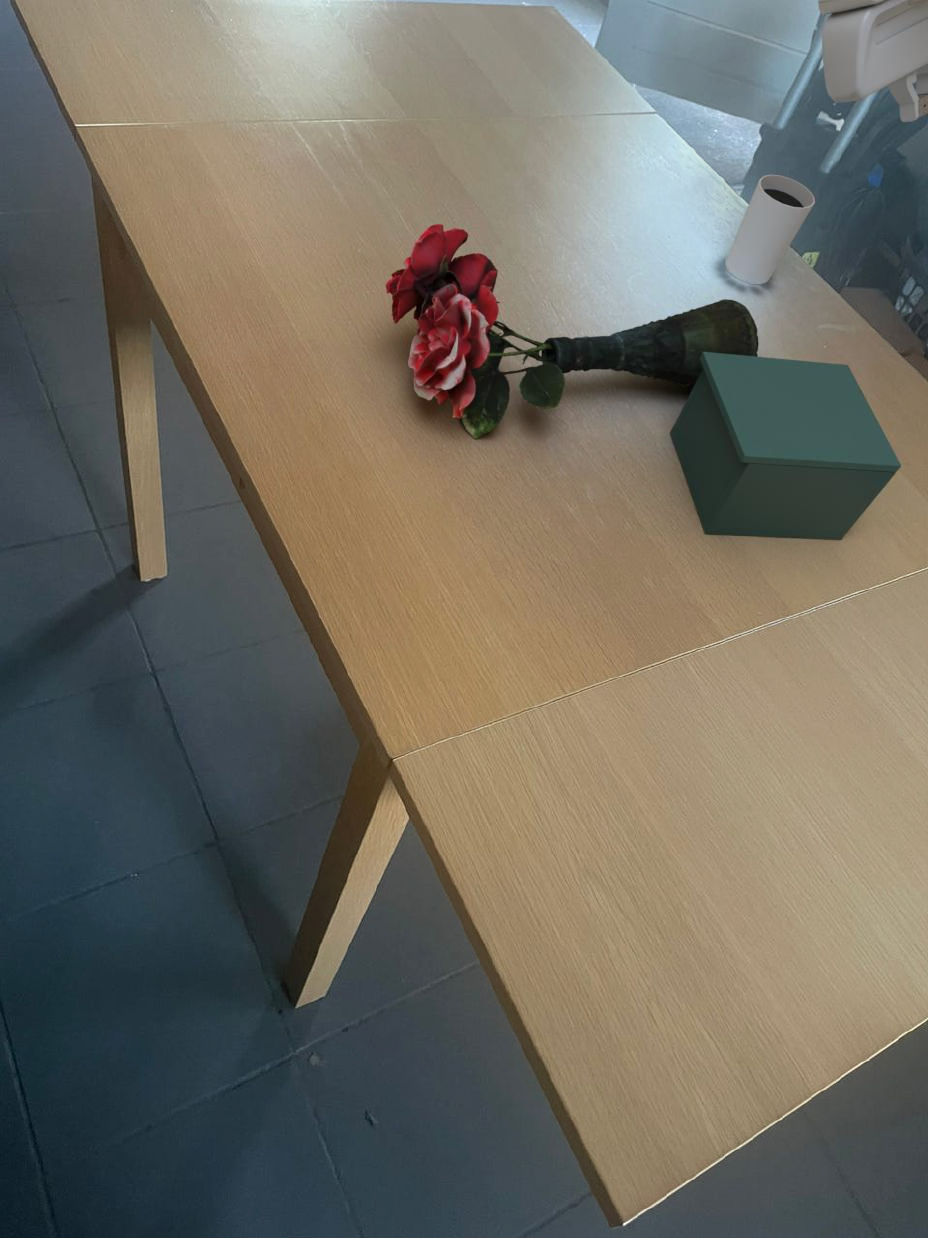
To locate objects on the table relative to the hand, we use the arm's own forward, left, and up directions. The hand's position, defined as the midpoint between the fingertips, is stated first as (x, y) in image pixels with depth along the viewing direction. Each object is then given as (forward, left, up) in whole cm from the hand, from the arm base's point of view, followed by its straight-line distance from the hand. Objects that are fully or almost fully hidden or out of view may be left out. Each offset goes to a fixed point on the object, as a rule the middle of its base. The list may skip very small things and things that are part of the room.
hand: (917, 116), depth 93 cm
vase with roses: (+36, +19, -22) cm, 46 cm away
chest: (+18, +32, -21) cm, 42 cm away
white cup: (+7, -4, -22) cm, 23 cm away
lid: (+19, +32, -13) cm, 39 cm away
